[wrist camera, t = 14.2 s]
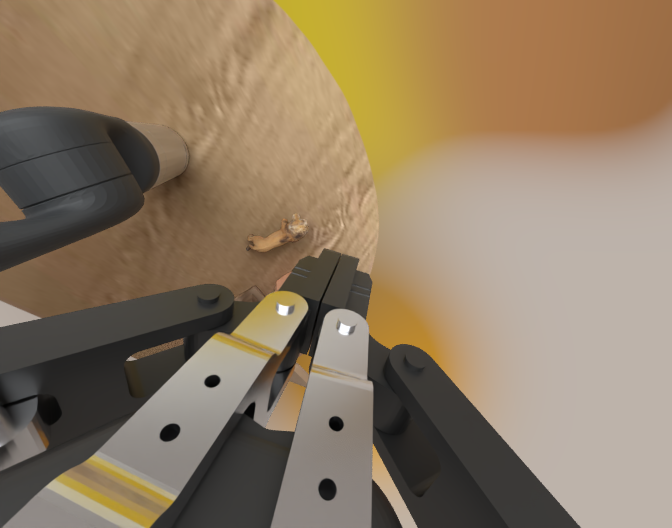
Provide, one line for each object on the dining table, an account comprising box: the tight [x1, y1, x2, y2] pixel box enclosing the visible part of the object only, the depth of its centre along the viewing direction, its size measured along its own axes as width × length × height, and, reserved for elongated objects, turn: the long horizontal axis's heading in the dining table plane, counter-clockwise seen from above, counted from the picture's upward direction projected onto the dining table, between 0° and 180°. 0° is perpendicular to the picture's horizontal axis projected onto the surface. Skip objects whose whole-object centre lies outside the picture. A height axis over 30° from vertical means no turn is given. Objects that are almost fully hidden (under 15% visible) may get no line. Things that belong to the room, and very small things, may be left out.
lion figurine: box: [246, 214, 309, 252], centre depth 59 cm, size 15×5×9 cm, turn 120°
